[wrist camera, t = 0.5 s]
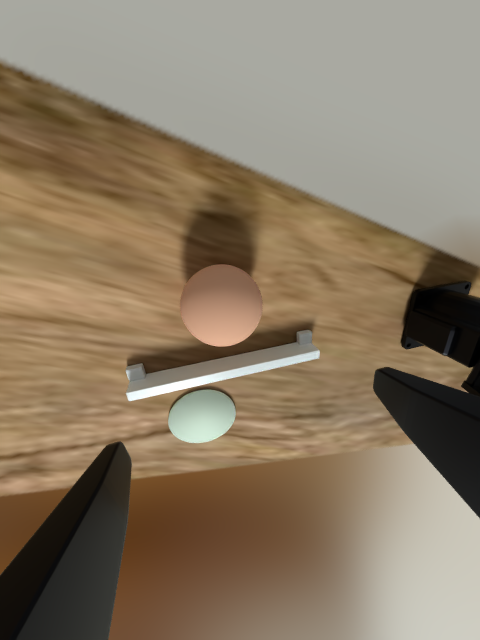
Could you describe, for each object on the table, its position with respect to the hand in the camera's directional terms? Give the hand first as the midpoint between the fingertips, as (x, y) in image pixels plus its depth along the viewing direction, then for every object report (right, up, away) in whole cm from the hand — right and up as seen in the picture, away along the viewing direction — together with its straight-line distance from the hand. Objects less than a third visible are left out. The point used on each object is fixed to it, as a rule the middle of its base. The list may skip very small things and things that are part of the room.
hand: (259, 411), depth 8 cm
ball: (-2, +5, +10) cm, 12 cm away
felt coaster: (-4, -6, +15) cm, 17 cm away
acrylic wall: (-2, 0, +13) cm, 13 cm away
